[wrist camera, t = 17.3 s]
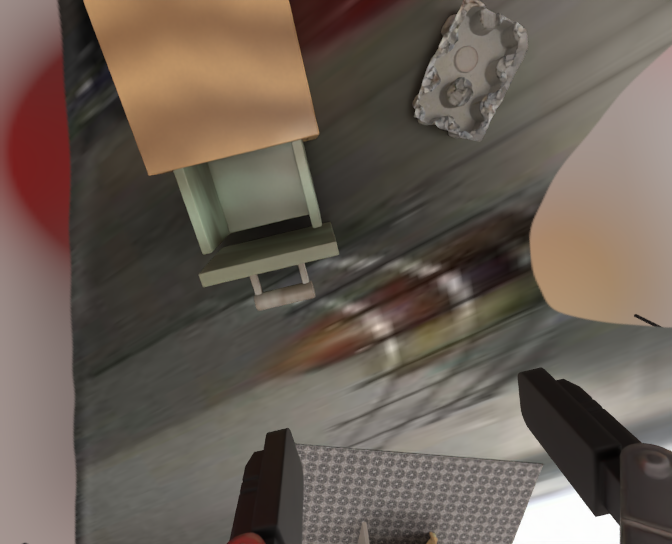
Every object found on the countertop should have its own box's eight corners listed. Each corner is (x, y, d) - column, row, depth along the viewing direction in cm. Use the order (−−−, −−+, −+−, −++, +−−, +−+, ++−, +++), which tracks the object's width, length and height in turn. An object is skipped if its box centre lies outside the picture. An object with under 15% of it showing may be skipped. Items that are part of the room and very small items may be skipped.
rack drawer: (342, 271, 41) (350, 302, 33) (238, 296, 42) (219, 334, 33) (297, 82, 36) (293, 61, 27) (176, 111, 36) (134, 99, 27)
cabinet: (316, 138, 38) (319, 134, 28) (191, 168, 38) (148, 176, 28) (273, -51, 33) (256, -140, 23) (129, -15, 33) (49, -89, 23)
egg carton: (451, 1, 35) (468, -17, 31) (519, 40, 37) (544, 26, 33) (400, 116, 38) (410, 112, 34) (465, 148, 39) (482, 147, 35)
